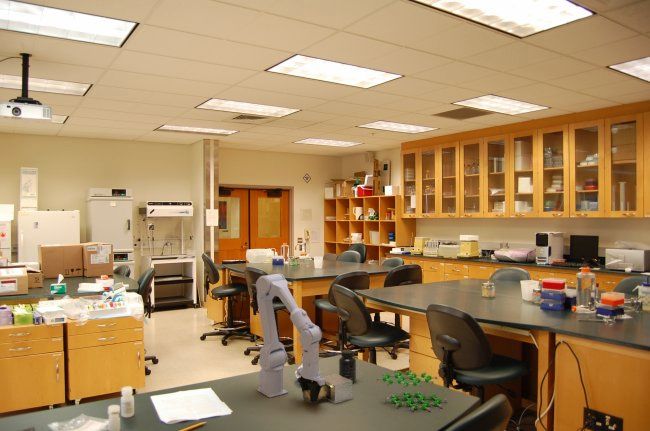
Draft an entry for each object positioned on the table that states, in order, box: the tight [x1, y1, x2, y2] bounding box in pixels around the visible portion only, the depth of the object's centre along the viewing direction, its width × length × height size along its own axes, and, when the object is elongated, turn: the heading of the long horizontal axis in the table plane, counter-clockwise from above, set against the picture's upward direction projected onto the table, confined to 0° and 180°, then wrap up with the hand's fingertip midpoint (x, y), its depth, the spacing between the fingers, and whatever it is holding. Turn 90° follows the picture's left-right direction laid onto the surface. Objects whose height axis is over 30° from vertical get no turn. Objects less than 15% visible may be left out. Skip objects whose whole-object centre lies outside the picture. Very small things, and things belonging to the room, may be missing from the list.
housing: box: [322, 373, 353, 404], centre depth 179 cm, size 10×8×6 cm
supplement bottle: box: [338, 349, 357, 384], centre depth 196 cm, size 7×7×12 cm
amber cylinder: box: [302, 385, 331, 404], centre depth 175 cm, size 4×11×4 cm, turn 127°
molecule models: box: [376, 369, 448, 412], centre depth 174 cm, size 17×25×10 cm, turn 92°
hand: (310, 399), depth 173 cm, fingers closed on amber cylinder, 4 cm apart
